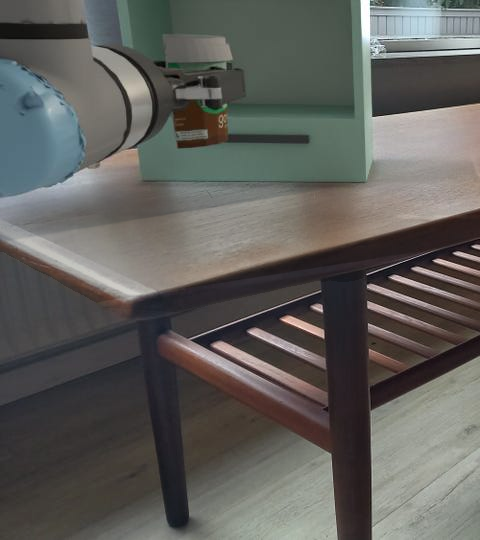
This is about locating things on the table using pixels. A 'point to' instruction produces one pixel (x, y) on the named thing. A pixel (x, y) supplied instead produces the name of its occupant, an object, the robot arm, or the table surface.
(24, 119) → the robot arm
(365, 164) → the mint green cubby cabinet
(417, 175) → the table surface
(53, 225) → the table surface
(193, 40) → the food container
